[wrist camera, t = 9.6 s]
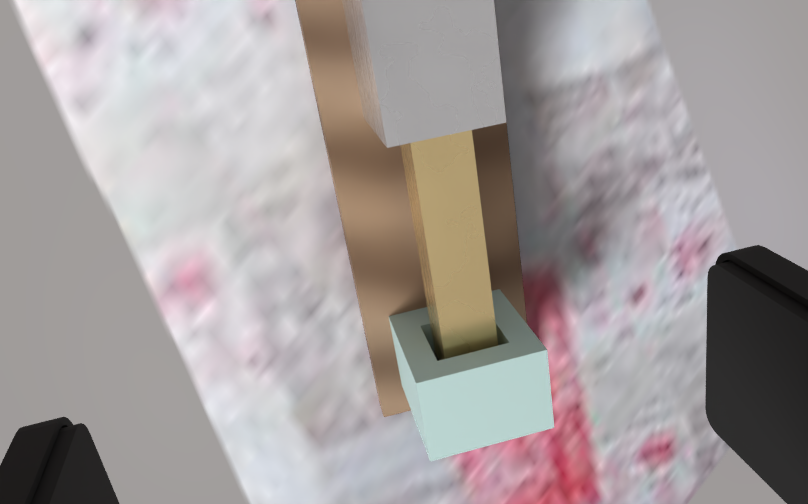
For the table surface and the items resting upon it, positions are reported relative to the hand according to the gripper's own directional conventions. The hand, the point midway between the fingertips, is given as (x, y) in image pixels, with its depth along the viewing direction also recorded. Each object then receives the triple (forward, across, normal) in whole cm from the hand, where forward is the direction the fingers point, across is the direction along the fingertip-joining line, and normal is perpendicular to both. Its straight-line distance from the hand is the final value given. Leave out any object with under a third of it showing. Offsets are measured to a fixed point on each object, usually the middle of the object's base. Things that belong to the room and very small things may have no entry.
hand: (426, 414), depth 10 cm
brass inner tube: (+26, -6, +6) cm, 28 cm away
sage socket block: (+29, -6, +17) cm, 34 cm away
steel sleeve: (+29, -6, -4) cm, 30 cm away
